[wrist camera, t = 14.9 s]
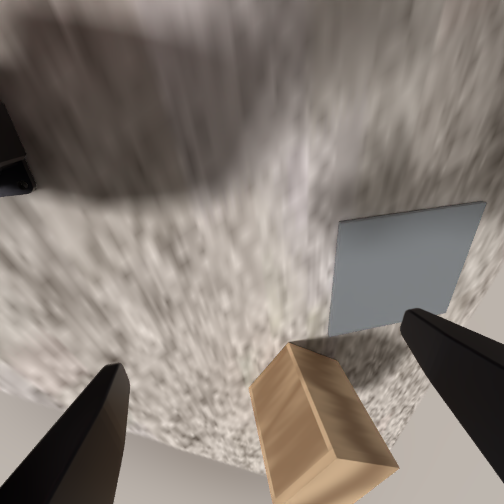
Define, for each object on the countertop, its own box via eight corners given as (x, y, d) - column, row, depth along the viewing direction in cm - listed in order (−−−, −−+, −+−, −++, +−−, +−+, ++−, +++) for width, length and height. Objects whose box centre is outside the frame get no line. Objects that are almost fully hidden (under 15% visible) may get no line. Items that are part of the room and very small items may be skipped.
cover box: (248, 388, 28) (274, 512, 20) (288, 342, 26) (336, 458, 17) (298, 401, 31) (339, 514, 22) (337, 360, 29) (399, 468, 20)
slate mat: (327, 334, 27) (329, 337, 26) (339, 221, 21) (341, 223, 21) (442, 310, 29) (445, 312, 28) (482, 201, 23) (486, 202, 22)
